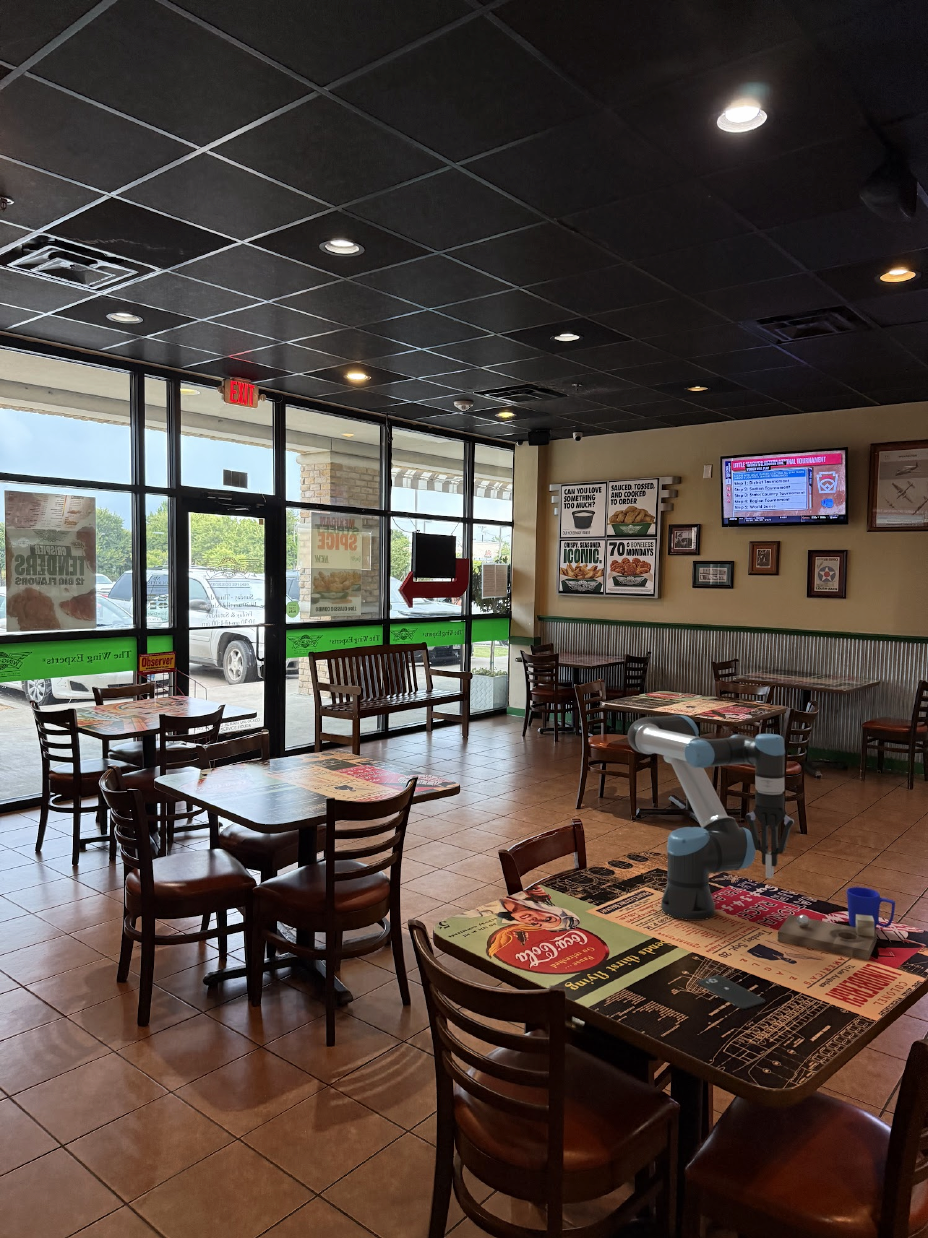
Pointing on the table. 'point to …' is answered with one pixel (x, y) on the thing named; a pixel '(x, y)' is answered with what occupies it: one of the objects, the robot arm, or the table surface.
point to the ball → (803, 921)
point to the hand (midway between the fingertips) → (769, 877)
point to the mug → (866, 905)
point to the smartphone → (731, 992)
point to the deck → (827, 937)
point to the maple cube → (864, 925)
